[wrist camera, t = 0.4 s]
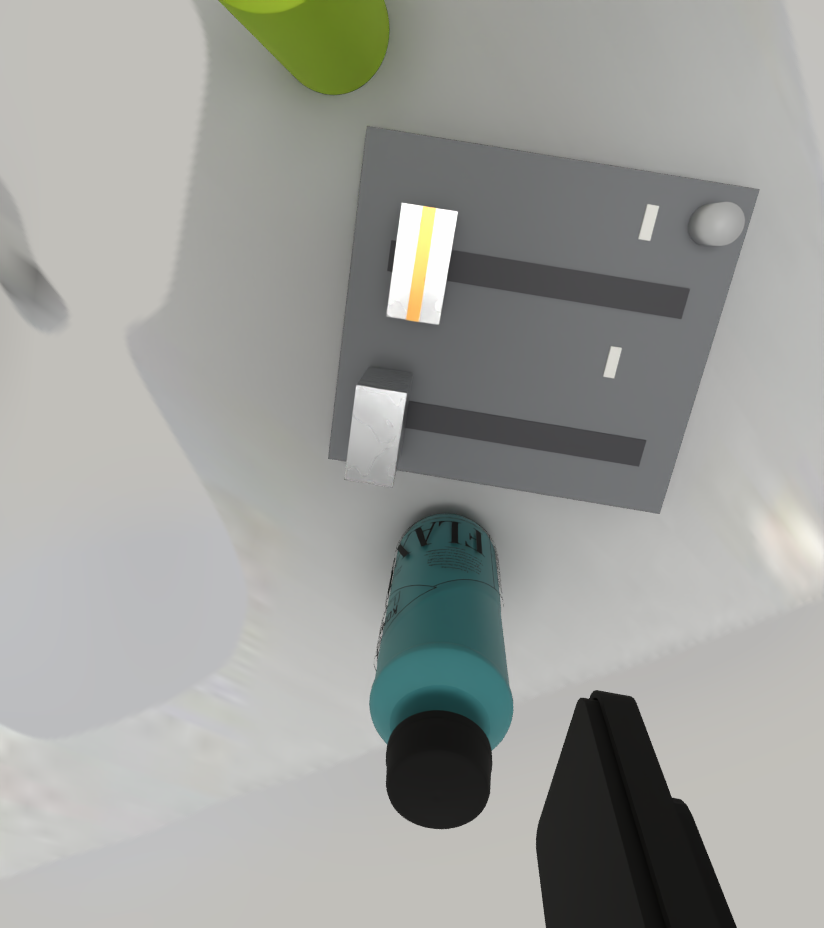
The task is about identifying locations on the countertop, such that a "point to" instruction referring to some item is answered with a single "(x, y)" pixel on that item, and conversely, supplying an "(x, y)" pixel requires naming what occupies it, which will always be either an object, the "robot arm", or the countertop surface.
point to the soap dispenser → (320, 38)
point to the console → (542, 315)
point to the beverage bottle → (442, 673)
